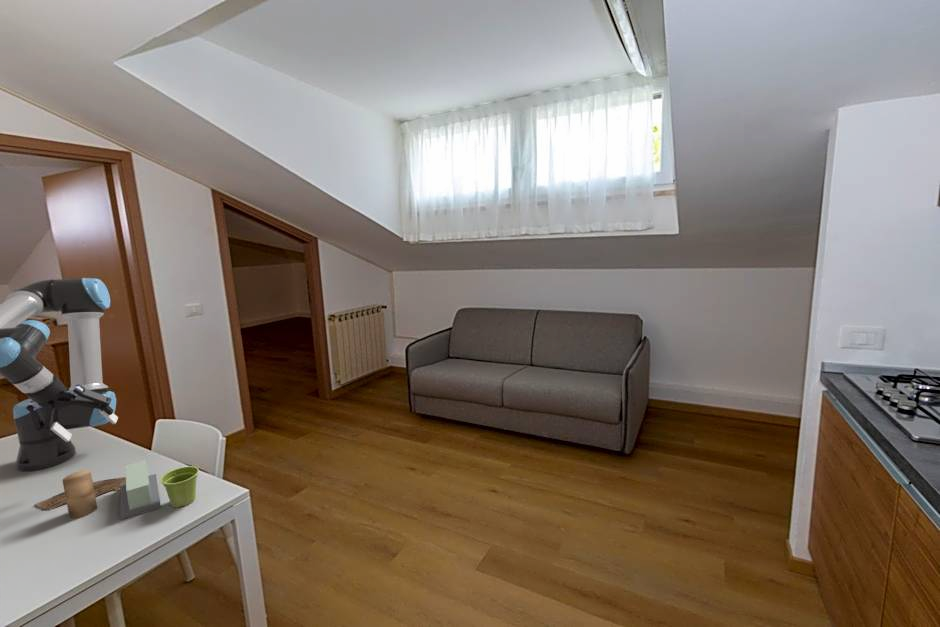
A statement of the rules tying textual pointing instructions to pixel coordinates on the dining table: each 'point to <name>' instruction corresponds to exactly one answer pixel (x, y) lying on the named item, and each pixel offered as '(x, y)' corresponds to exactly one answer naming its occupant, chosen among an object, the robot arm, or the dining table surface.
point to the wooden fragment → (99, 488)
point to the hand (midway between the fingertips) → (92, 429)
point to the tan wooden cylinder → (79, 494)
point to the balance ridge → (138, 491)
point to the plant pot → (181, 485)
